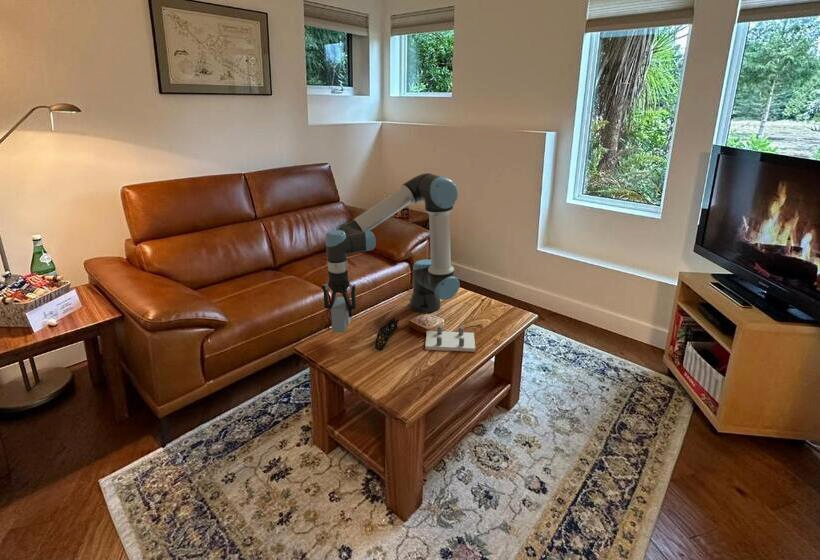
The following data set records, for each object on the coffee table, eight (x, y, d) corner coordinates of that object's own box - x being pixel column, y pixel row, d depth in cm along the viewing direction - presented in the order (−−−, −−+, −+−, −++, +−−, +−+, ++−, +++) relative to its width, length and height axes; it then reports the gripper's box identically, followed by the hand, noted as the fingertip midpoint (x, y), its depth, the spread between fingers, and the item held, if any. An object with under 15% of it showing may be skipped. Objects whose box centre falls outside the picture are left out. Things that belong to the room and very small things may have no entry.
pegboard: (425, 349, 188) (425, 339, 186) (426, 333, 200) (427, 324, 198) (475, 351, 187) (475, 341, 185) (473, 335, 198) (474, 326, 197)
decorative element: (384, 352, 187) (384, 339, 184) (373, 350, 188) (372, 337, 185) (400, 326, 207) (400, 314, 204) (389, 325, 208) (389, 313, 206)
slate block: (339, 318, 195) (337, 296, 192) (350, 318, 195) (349, 297, 191) (332, 332, 184) (330, 309, 180) (344, 332, 184) (343, 310, 180)
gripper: (312, 273, 178) (317, 327, 187) (359, 274, 176) (362, 328, 185) (317, 266, 185) (322, 318, 193) (362, 267, 183) (365, 319, 192)
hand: (341, 323), depth 189 cm, fingers closed on slate block, 5 cm apart
